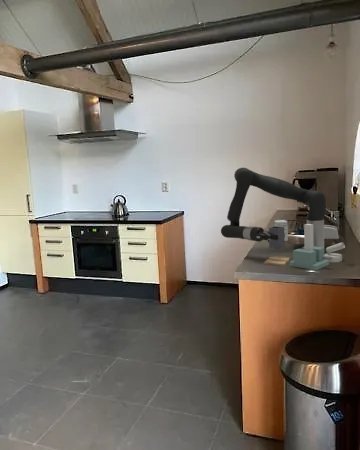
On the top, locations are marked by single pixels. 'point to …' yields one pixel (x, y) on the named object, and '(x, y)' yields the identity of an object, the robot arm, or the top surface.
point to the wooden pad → (277, 261)
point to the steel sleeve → (280, 233)
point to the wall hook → (334, 256)
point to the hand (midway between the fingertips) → (281, 236)
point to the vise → (309, 253)
